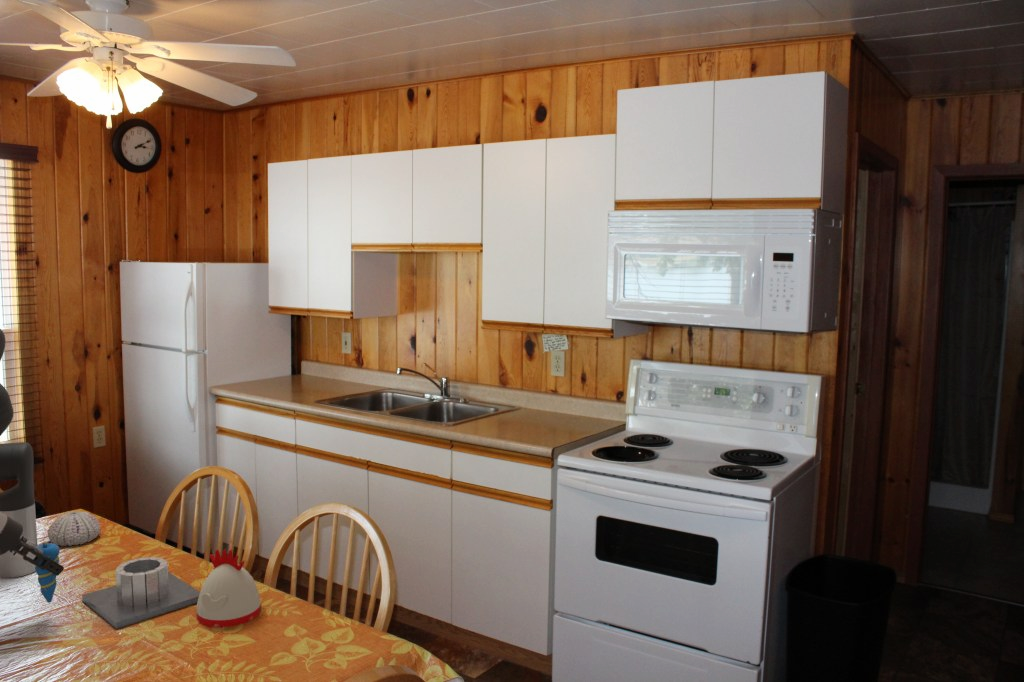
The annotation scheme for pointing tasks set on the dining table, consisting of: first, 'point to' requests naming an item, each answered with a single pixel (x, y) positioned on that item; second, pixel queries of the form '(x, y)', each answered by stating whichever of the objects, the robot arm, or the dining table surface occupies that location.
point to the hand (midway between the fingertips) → (56, 567)
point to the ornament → (44, 576)
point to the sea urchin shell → (74, 529)
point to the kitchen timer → (227, 594)
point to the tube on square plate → (141, 593)
